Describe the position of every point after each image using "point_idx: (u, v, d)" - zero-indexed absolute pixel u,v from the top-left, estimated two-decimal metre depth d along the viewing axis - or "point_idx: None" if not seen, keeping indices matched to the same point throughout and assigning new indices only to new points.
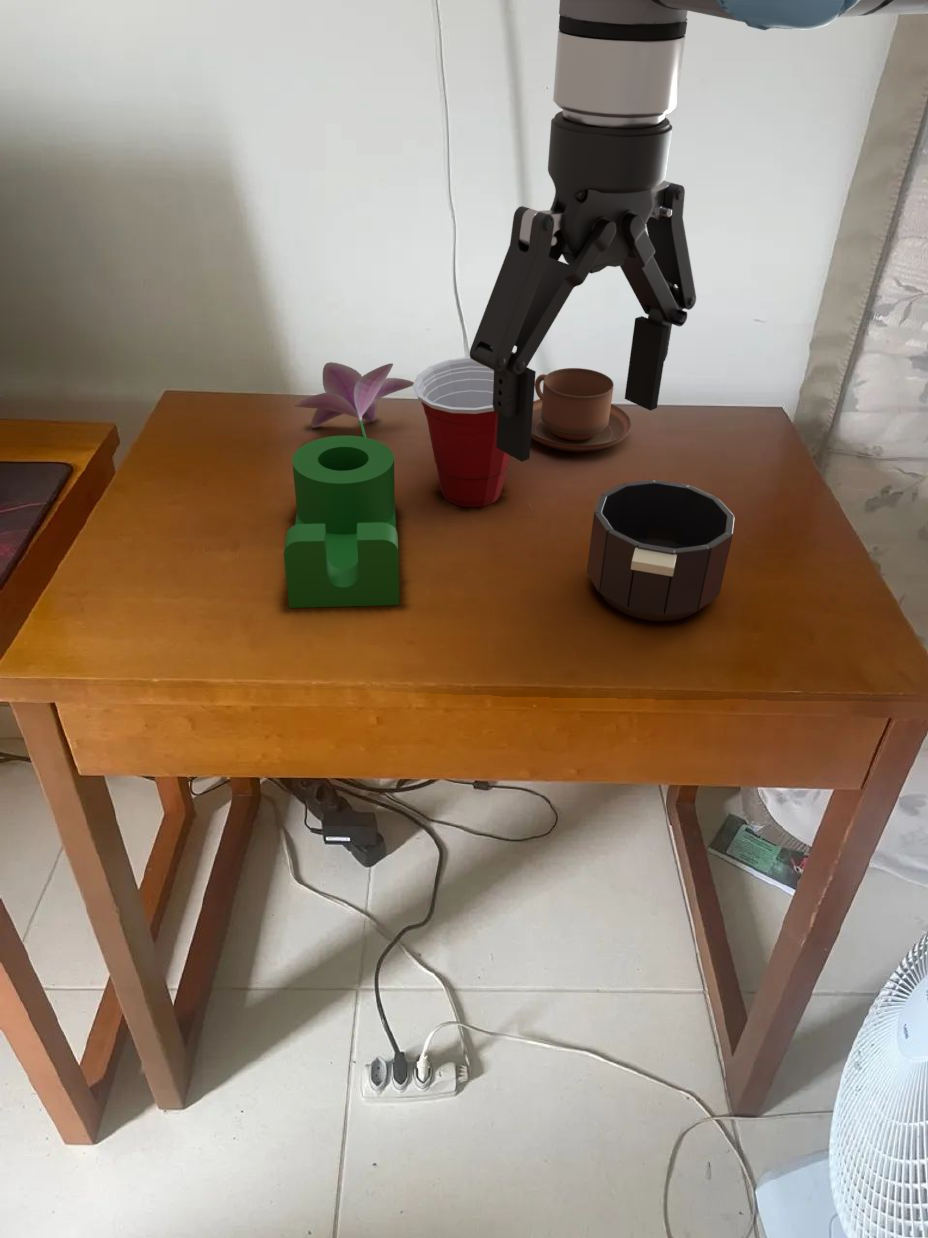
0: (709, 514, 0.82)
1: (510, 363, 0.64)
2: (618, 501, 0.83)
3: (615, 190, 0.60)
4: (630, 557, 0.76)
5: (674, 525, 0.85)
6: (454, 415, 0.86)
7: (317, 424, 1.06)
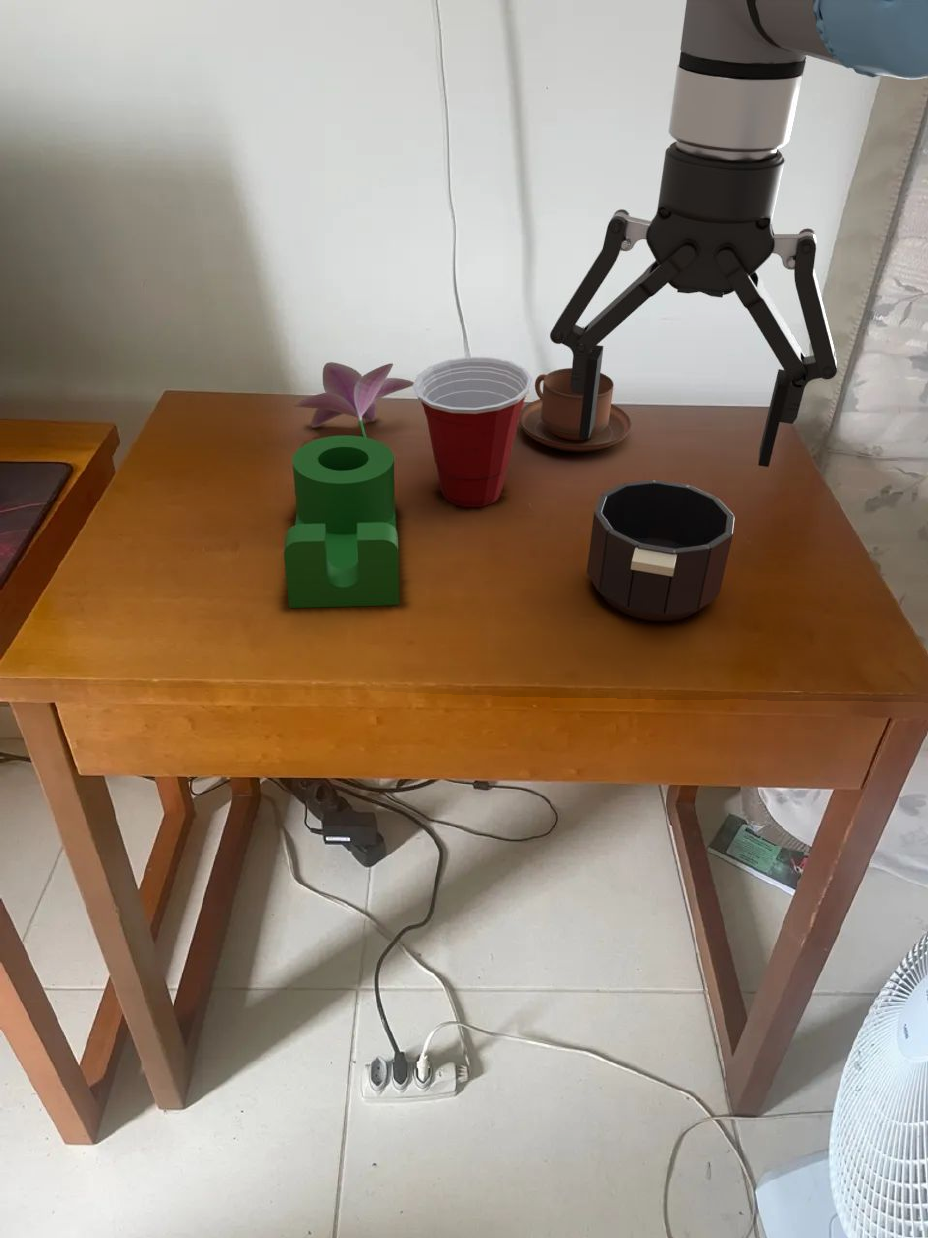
0: (709, 514, 0.82)
1: (574, 342, 0.72)
2: (618, 501, 0.83)
3: (677, 212, 0.63)
4: (630, 557, 0.76)
5: (674, 525, 0.85)
6: (454, 415, 0.86)
7: (317, 424, 1.06)
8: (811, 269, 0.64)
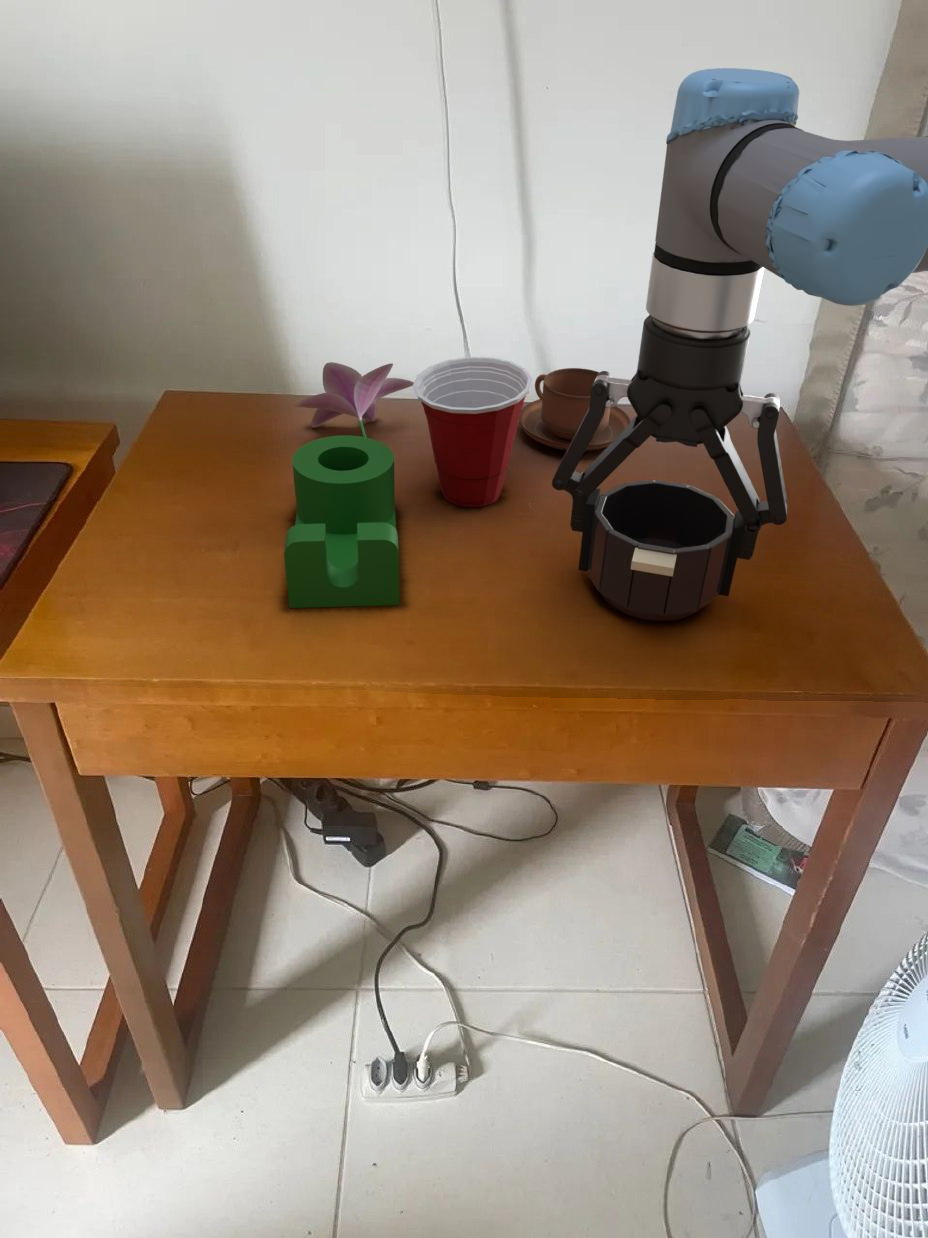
0: (709, 514, 0.82)
1: (574, 489, 0.79)
2: (618, 501, 0.83)
3: (654, 379, 0.70)
4: (630, 557, 0.76)
5: (674, 525, 0.85)
6: (454, 415, 0.86)
7: (317, 424, 1.06)
8: (773, 432, 0.72)
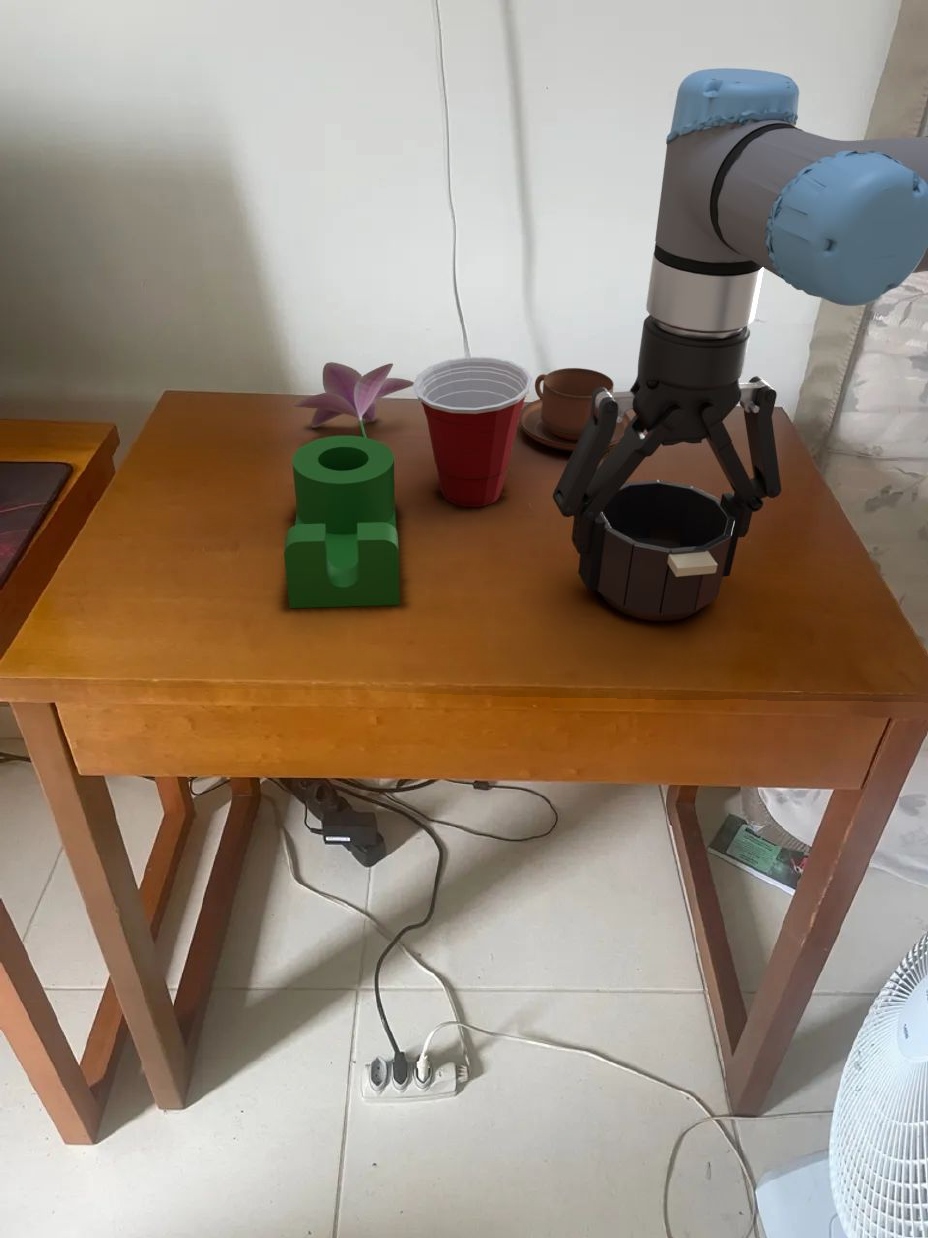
0: (687, 503, 0.83)
1: (581, 512, 0.76)
2: (604, 512, 0.81)
3: (675, 386, 0.69)
4: (663, 565, 0.75)
5: (648, 521, 0.85)
6: (454, 415, 0.86)
7: (317, 424, 1.06)
8: (771, 413, 0.74)
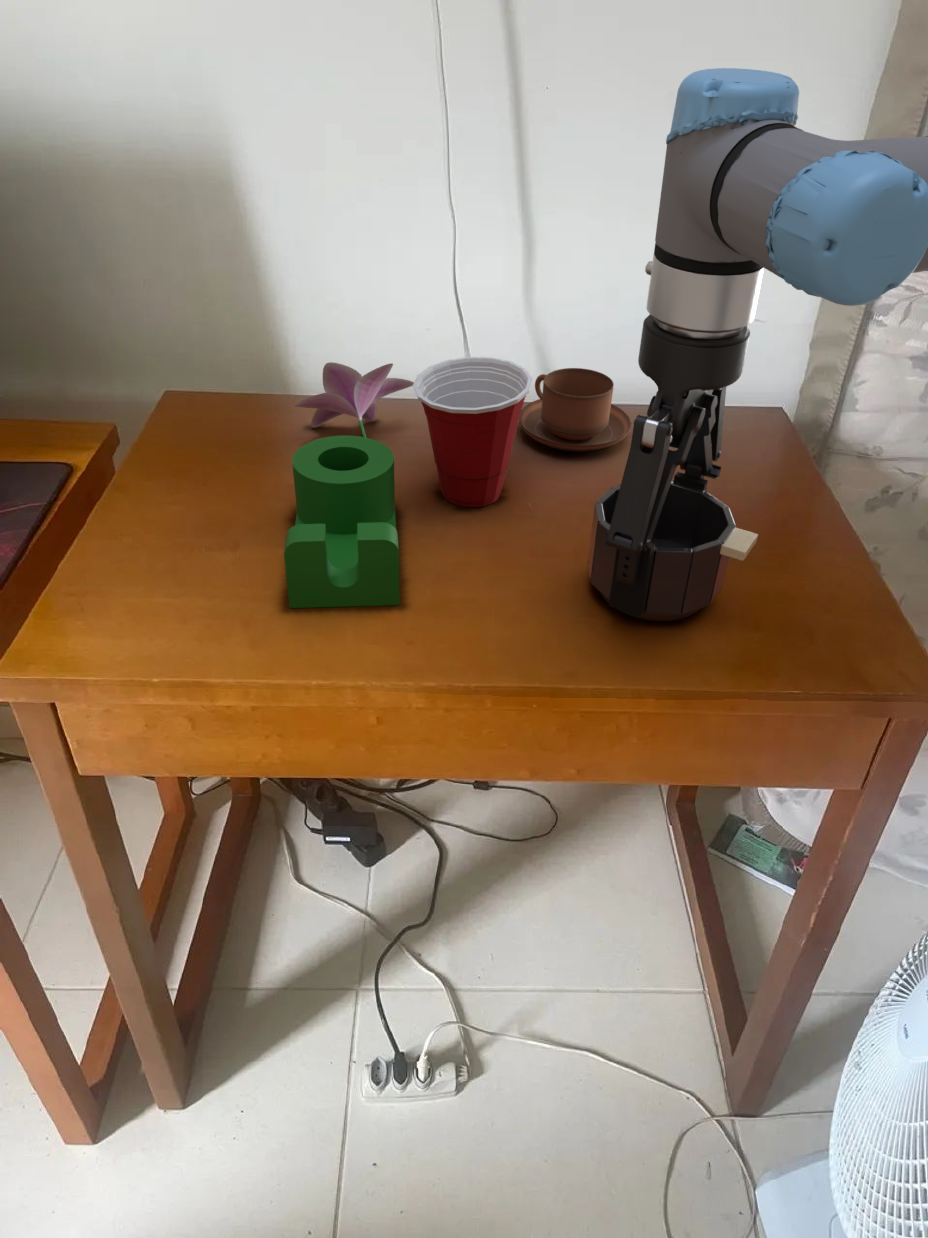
0: None
1: None
2: None
3: (716, 387, 0.69)
4: (716, 557, 0.77)
5: None
6: (454, 415, 0.86)
7: (317, 424, 1.06)
8: None
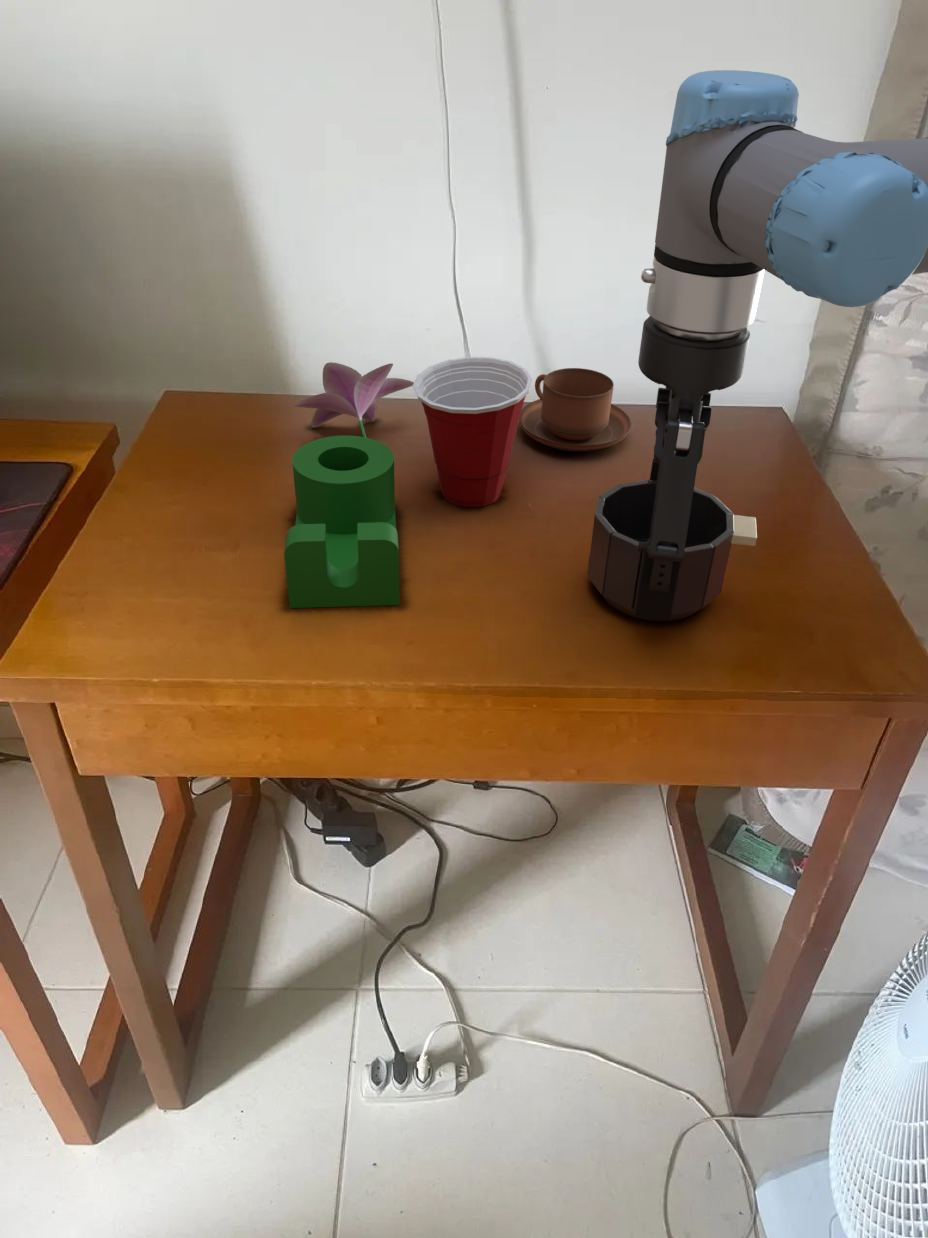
0: (620, 502, 0.83)
1: None
2: None
3: (730, 385, 0.70)
4: (728, 547, 0.78)
5: None
6: (454, 415, 0.86)
7: (317, 424, 1.06)
8: None
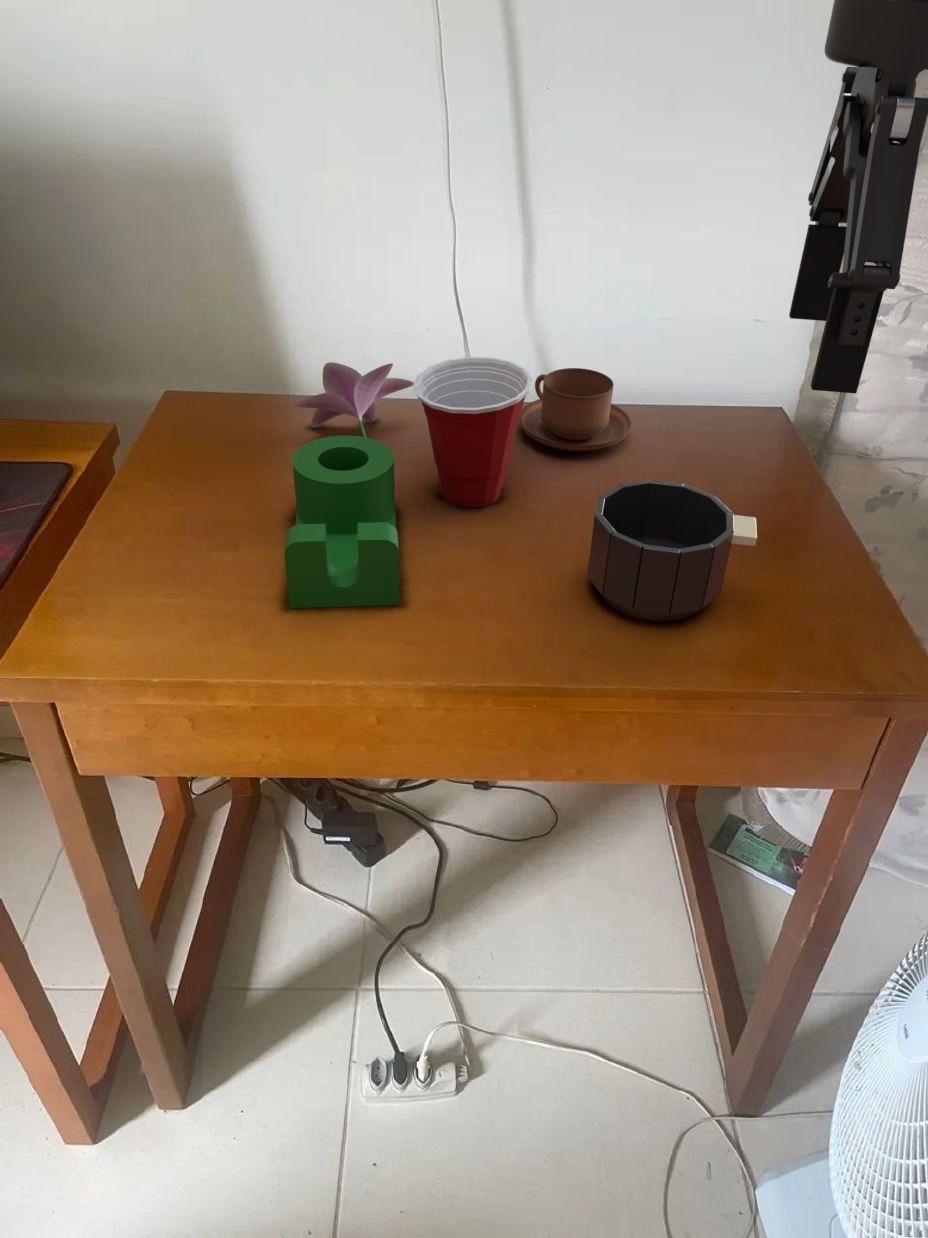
0: (620, 502, 0.83)
1: None
2: None
3: None
4: (728, 547, 0.78)
5: None
6: (454, 415, 0.86)
7: (317, 424, 1.06)
8: None
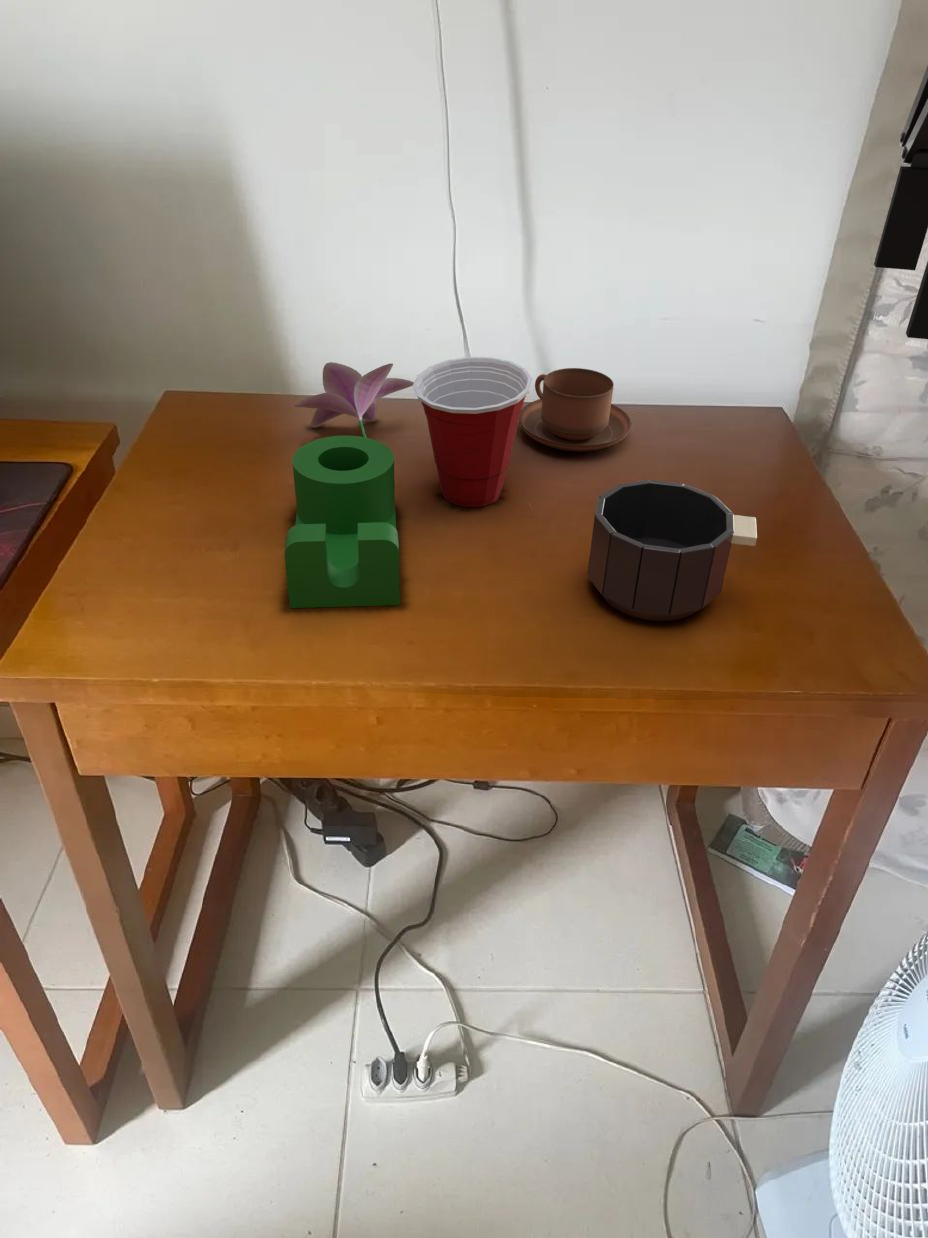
0: (620, 502, 0.83)
1: None
2: None
3: None
4: (728, 547, 0.78)
5: None
6: (454, 415, 0.86)
7: (317, 424, 1.06)
8: None
